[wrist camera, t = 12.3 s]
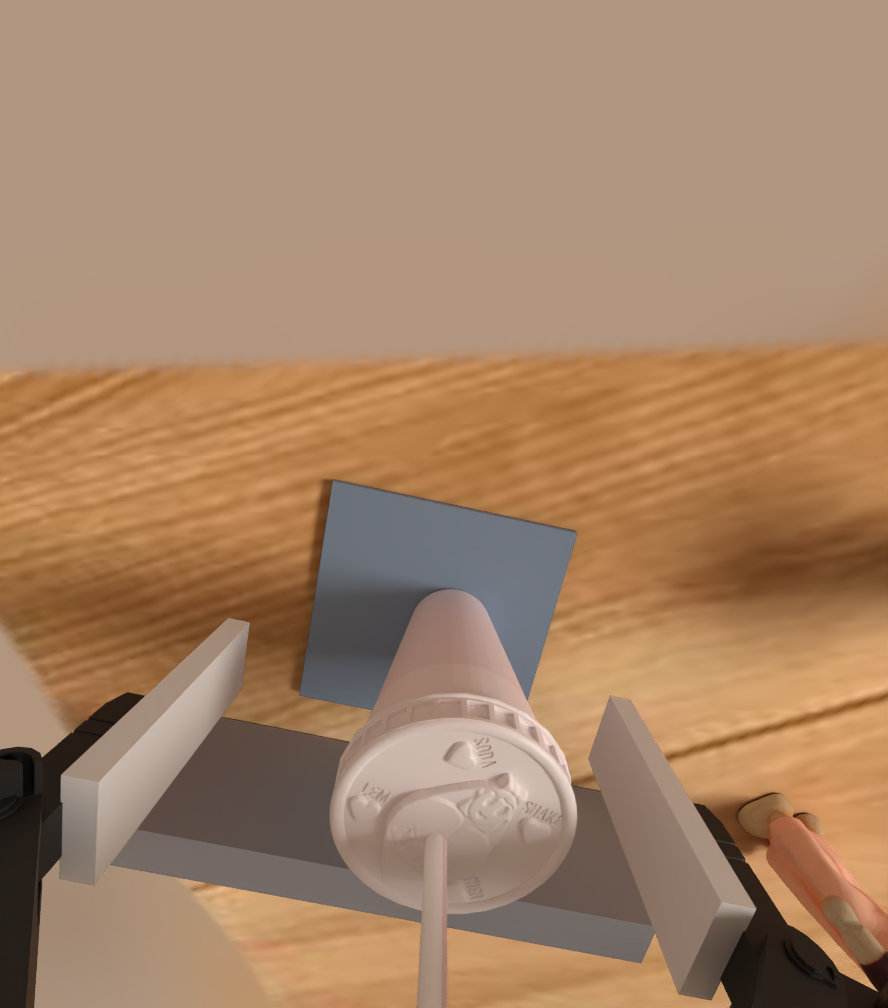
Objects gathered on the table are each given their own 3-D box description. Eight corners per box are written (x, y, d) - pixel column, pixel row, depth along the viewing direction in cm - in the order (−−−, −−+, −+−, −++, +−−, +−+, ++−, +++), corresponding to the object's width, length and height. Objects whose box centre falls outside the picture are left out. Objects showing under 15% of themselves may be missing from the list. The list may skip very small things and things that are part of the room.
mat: (514, 732, 22) (516, 738, 22) (302, 690, 22) (299, 695, 21) (574, 530, 19) (577, 533, 19) (335, 479, 19) (333, 481, 19)
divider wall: (593, 821, 23) (641, 963, 17) (186, 743, 23) (93, 862, 17) (604, 792, 23) (657, 927, 17) (189, 710, 22) (95, 821, 16)
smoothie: (353, 616, 20) (161, 1077, 7) (461, 533, 19) (495, 878, 6) (440, 706, 21) (430, 1256, 8) (546, 634, 20) (746, 1120, 7)
